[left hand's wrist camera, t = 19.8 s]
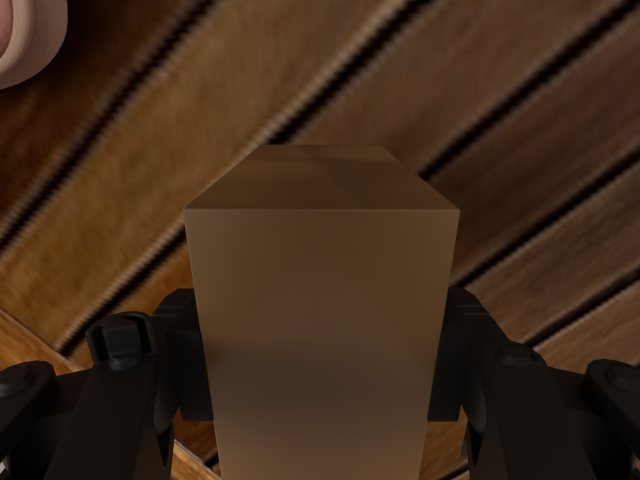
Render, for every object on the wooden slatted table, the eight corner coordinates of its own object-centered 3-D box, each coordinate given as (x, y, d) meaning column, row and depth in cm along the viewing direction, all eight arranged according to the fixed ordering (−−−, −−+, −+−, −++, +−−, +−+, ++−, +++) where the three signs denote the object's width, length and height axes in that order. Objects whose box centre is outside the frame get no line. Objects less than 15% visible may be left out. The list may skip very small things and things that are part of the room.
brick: (269, 303, 19) (223, 492, 10) (260, 144, 16) (182, 208, 7) (370, 303, 19) (416, 493, 10) (381, 145, 16) (462, 209, 7)
